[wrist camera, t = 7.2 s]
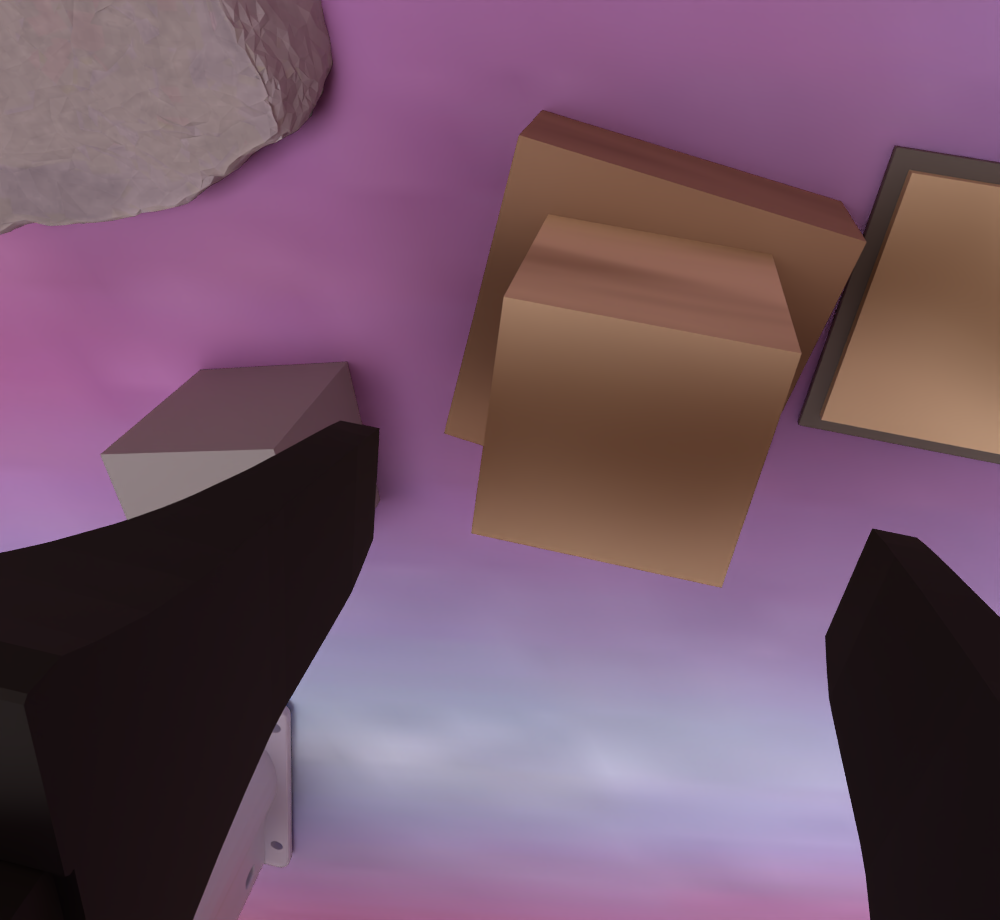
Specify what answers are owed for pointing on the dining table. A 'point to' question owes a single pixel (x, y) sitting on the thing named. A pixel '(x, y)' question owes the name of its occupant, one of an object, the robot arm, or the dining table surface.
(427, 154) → the dining table surface
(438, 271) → the dining table surface
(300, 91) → the stone block
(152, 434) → the slate block
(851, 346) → the tile
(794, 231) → the walnut block
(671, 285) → the maple block
